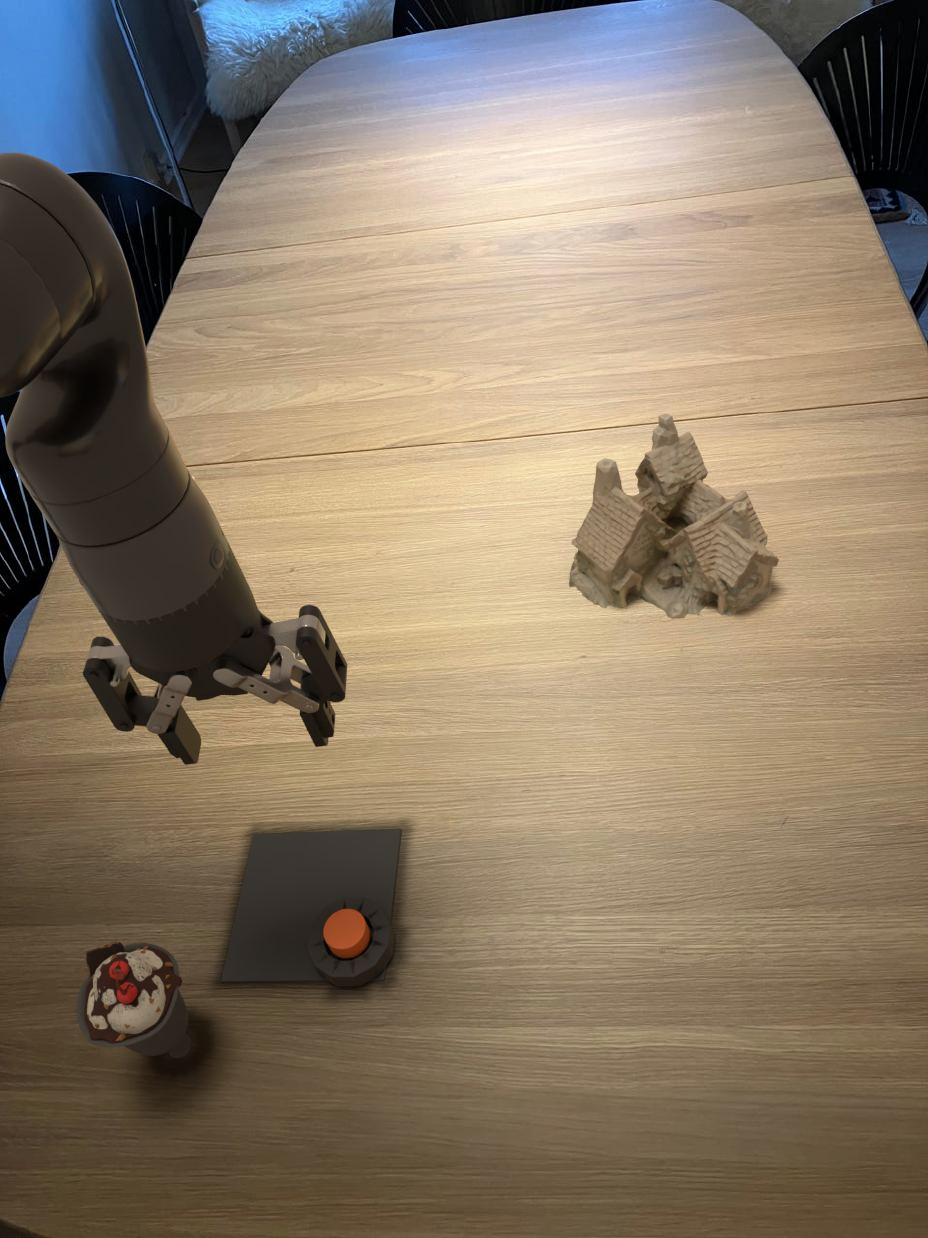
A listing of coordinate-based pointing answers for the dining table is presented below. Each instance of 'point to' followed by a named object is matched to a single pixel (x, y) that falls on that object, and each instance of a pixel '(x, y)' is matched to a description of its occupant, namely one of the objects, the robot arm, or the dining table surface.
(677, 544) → the ceramic cottage
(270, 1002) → the dining table surface
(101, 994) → the sundae
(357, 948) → the button
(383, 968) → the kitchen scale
